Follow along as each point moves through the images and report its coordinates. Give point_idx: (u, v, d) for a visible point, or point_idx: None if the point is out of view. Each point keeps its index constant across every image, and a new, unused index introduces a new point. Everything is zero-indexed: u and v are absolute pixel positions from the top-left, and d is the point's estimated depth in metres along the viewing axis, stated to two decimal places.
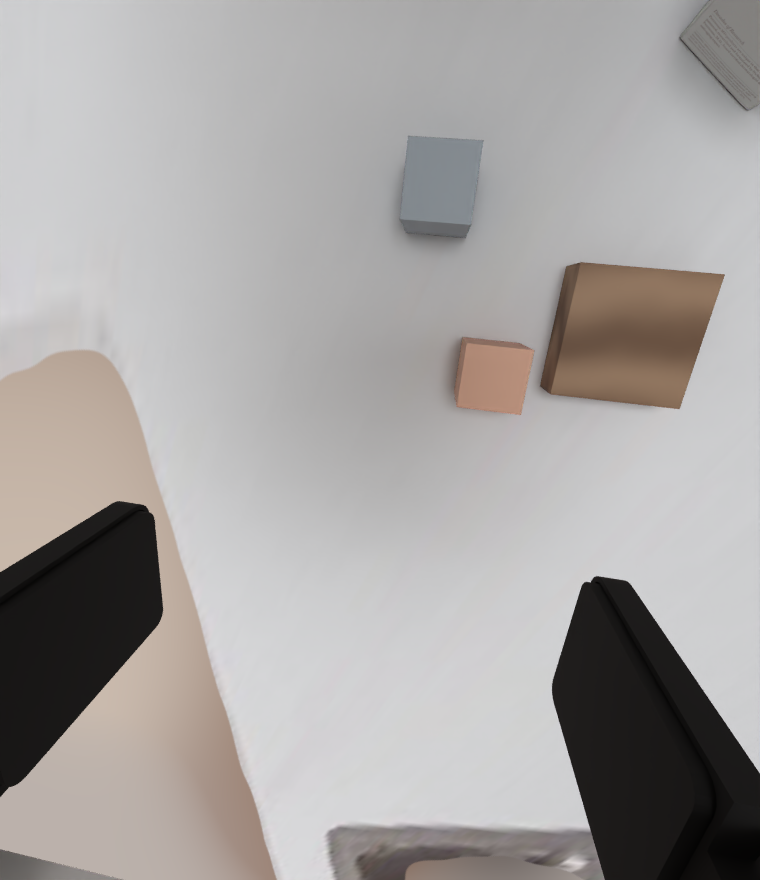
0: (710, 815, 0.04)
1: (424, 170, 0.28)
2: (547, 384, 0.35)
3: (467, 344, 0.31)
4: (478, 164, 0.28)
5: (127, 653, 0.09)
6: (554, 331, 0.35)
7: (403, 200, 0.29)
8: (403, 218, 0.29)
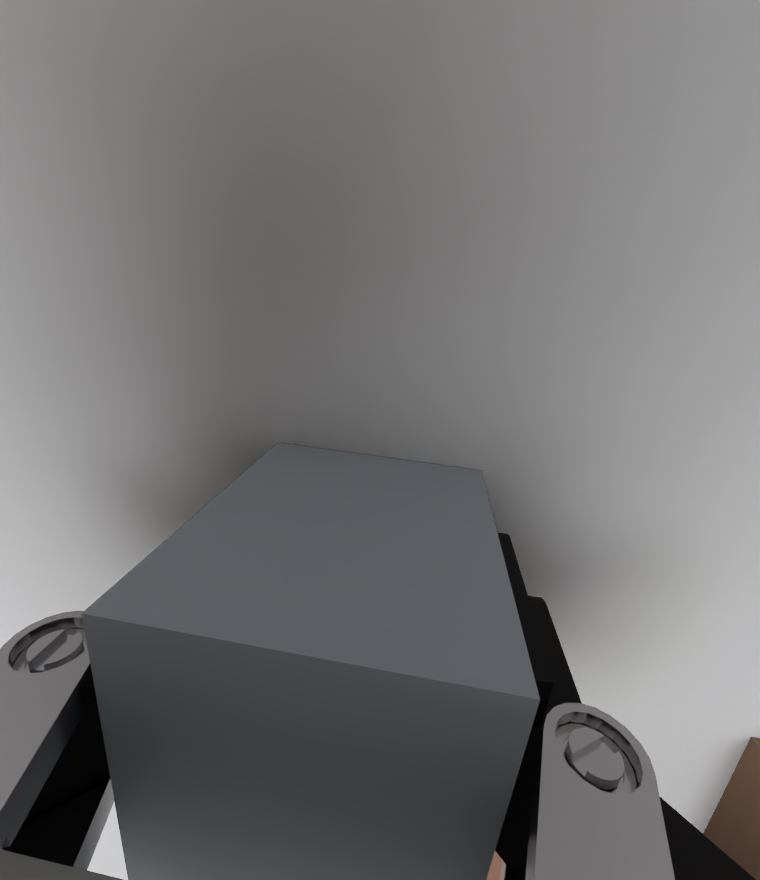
0: None
1: (202, 756, 0.05)
2: None
3: None
4: (504, 790, 0.05)
5: None
6: None
7: (128, 830, 0.06)
8: None
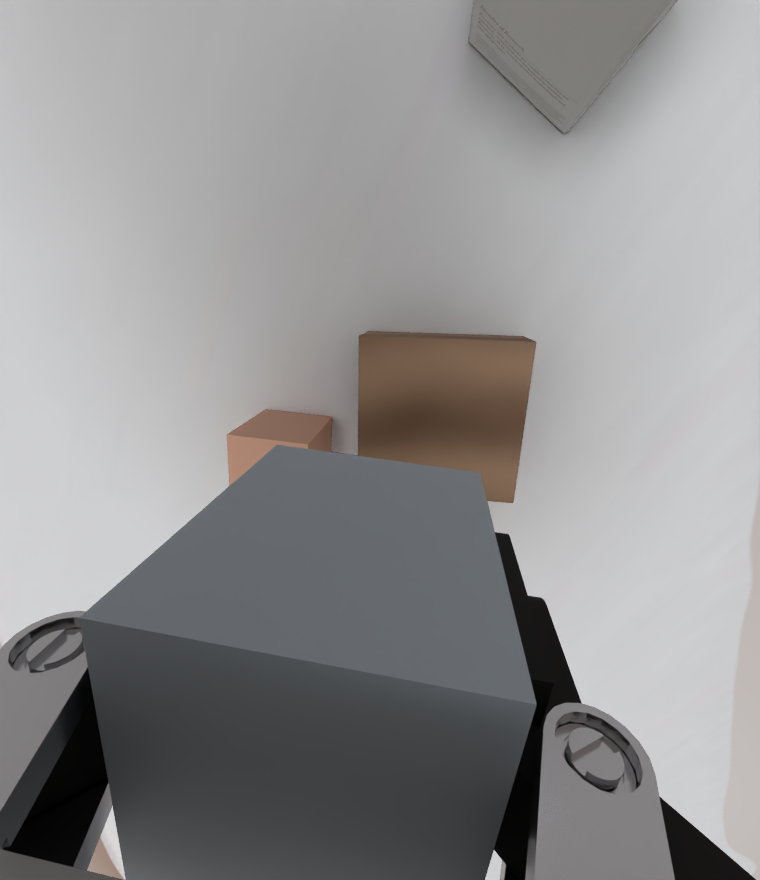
0: None
1: (200, 760, 0.05)
2: None
3: (228, 435, 0.25)
4: (501, 794, 0.05)
5: None
6: None
7: (126, 833, 0.06)
8: None
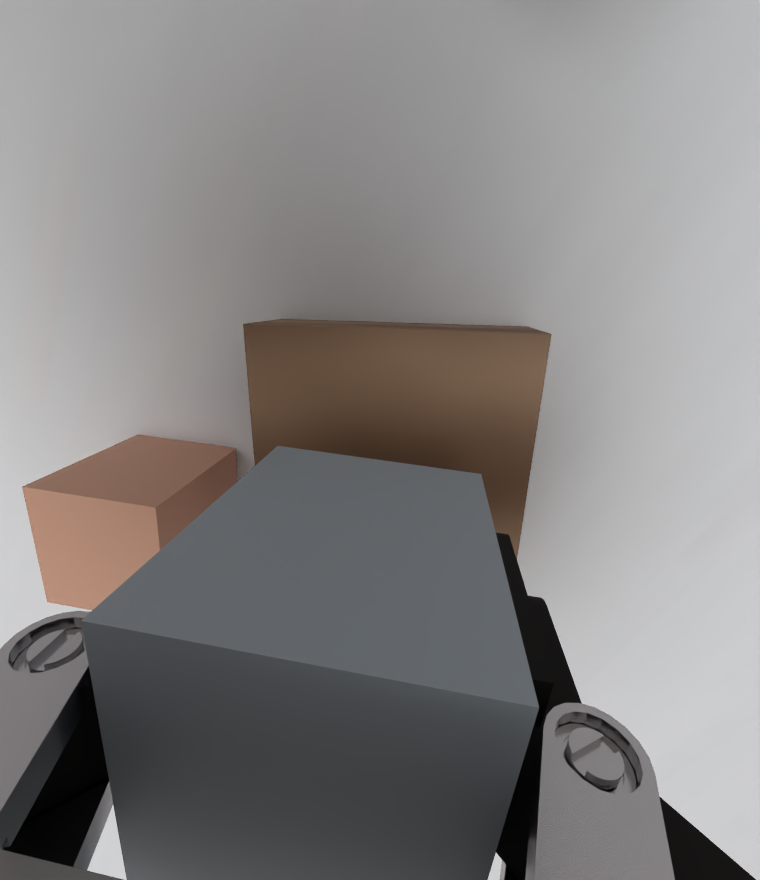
0: None
1: (202, 762, 0.05)
2: None
3: (25, 488, 0.15)
4: (503, 797, 0.05)
5: None
6: None
7: (128, 835, 0.06)
8: None
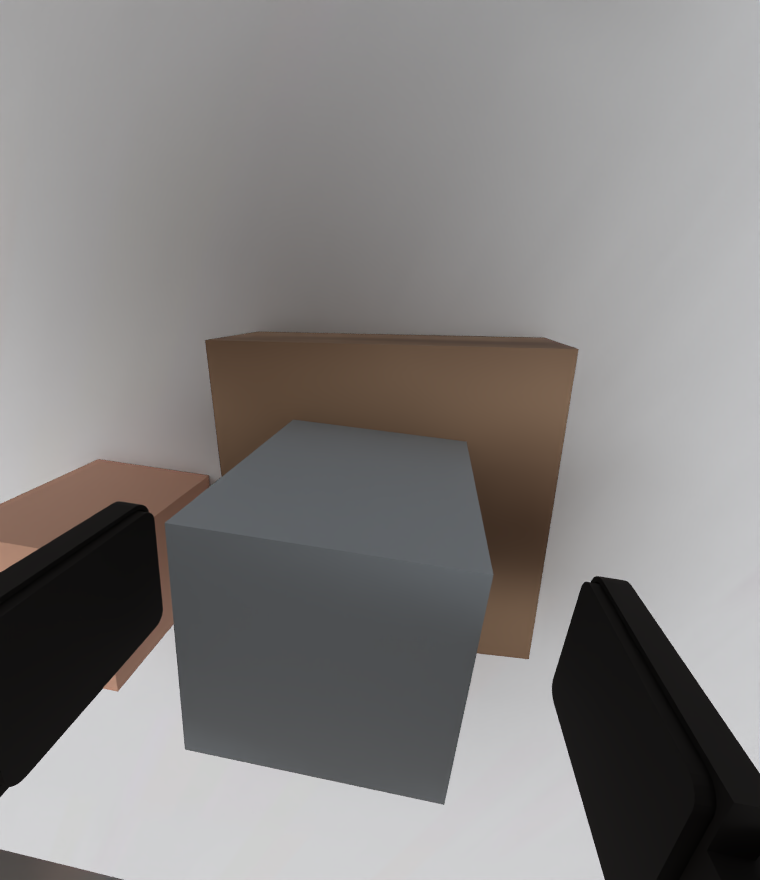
0: (710, 815, 0.04)
1: (249, 635, 0.07)
2: None
3: None
4: (471, 649, 0.06)
5: (127, 653, 0.09)
6: None
7: (188, 704, 0.08)
8: (197, 749, 0.08)
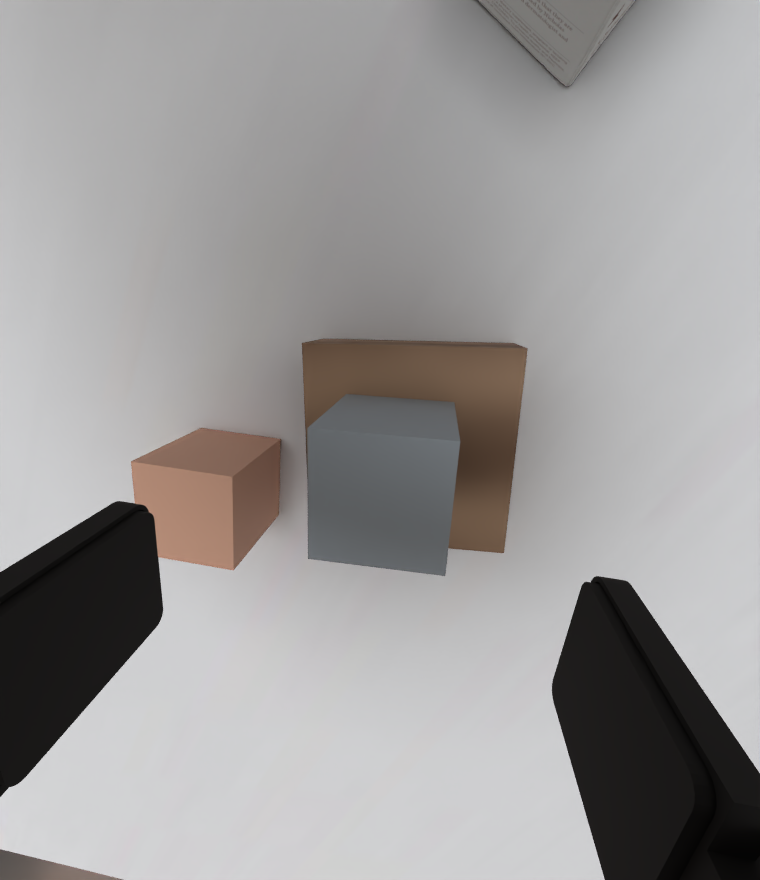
0: (710, 815, 0.04)
1: (345, 485, 0.14)
2: None
3: (133, 463, 0.19)
4: (452, 481, 0.14)
5: (127, 653, 0.09)
6: None
7: (311, 530, 0.15)
8: (314, 558, 0.15)
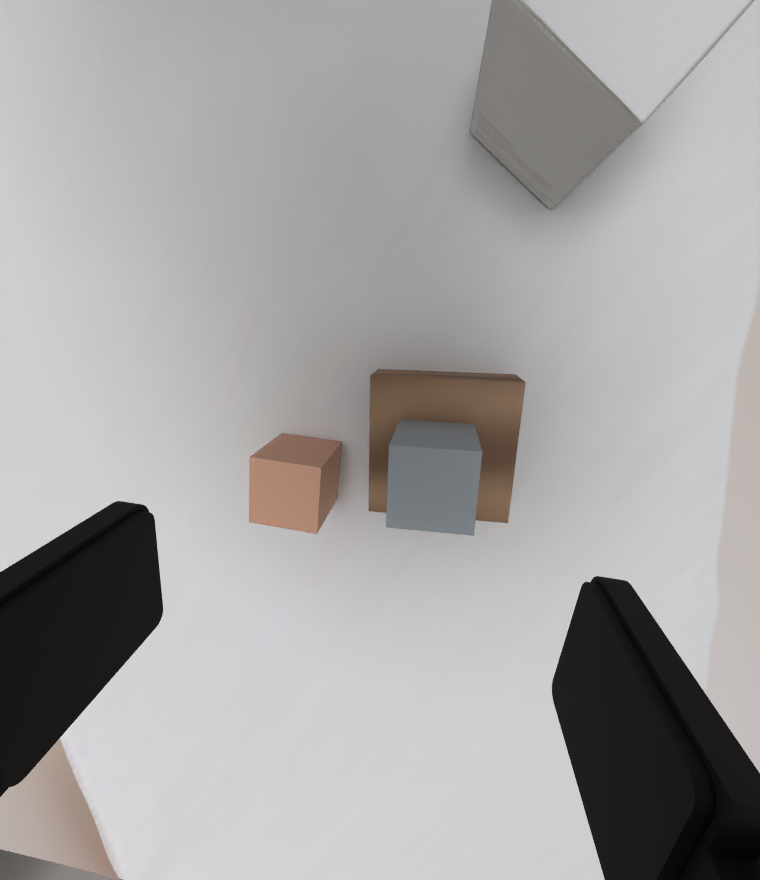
0: (710, 815, 0.04)
1: (411, 479, 0.23)
2: None
3: (251, 458, 0.28)
4: (478, 475, 0.22)
5: (127, 653, 0.09)
6: None
7: (388, 508, 0.24)
8: (390, 526, 0.24)
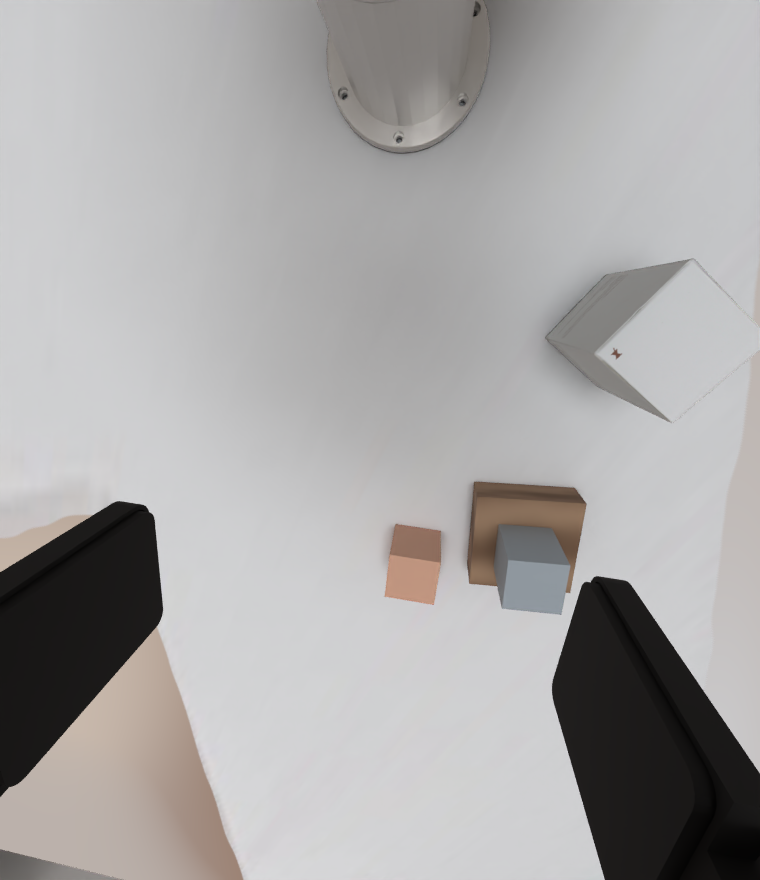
0: (710, 815, 0.04)
1: (521, 580, 0.35)
2: (468, 570, 0.44)
3: (390, 555, 0.41)
4: (566, 579, 0.35)
5: (127, 653, 0.09)
6: (470, 528, 0.44)
7: (504, 597, 0.36)
8: (505, 608, 0.36)
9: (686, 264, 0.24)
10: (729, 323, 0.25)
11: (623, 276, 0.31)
